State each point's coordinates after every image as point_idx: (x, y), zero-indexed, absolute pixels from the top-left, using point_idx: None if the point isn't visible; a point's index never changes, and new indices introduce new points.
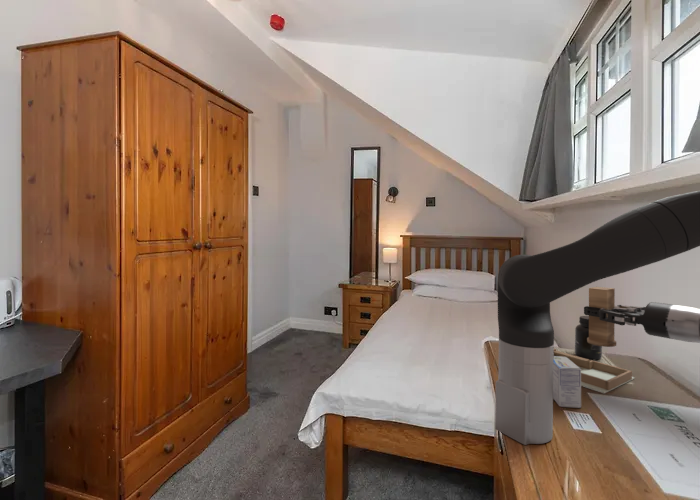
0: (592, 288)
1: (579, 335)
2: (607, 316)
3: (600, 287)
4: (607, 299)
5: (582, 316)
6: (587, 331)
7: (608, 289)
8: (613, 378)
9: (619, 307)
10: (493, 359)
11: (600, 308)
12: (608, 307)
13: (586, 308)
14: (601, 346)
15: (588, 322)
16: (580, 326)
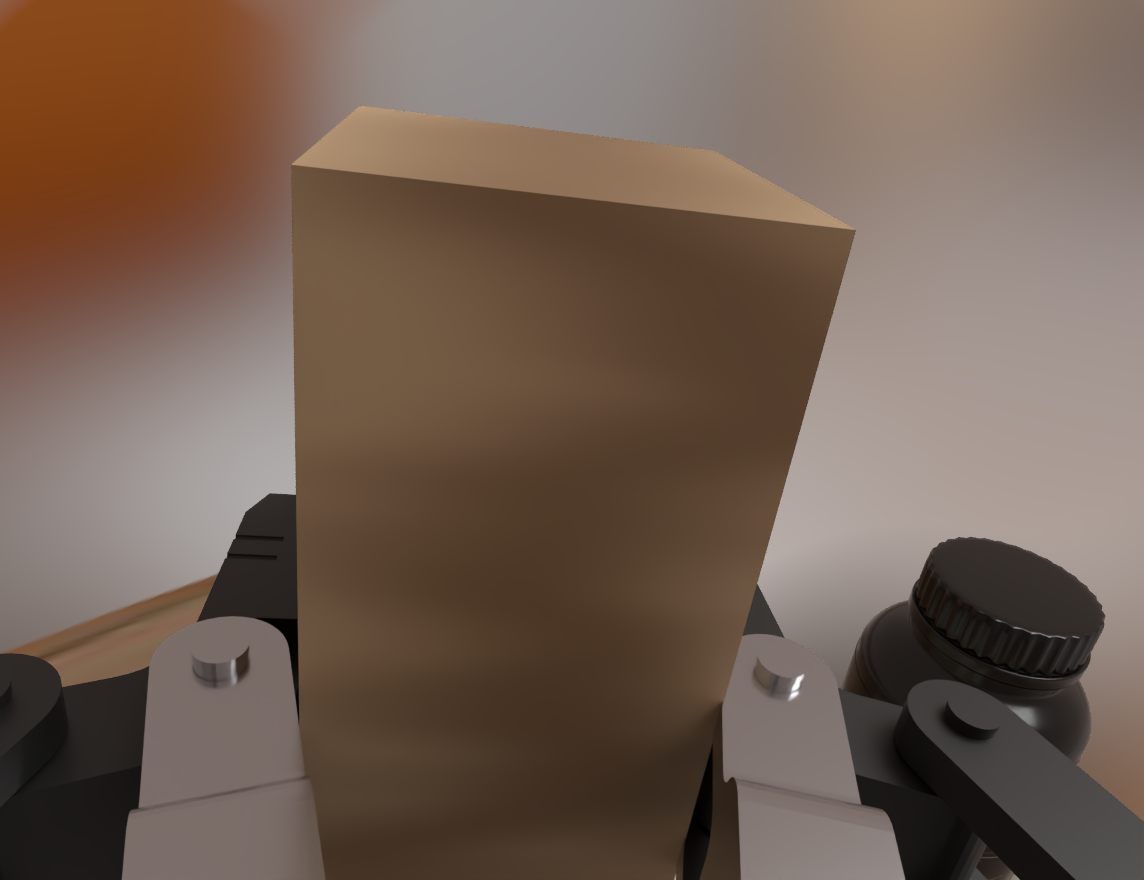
0: (353, 115)
1: (846, 689)
2: (332, 844)
3: (672, 159)
4: (339, 482)
5: (980, 546)
6: (896, 698)
7: (440, 180)
8: None
9: (720, 803)
10: (212, 584)
11: (211, 622)
12: (392, 681)
13: (266, 502)
14: (992, 867)
15: (950, 627)
16: (896, 623)
